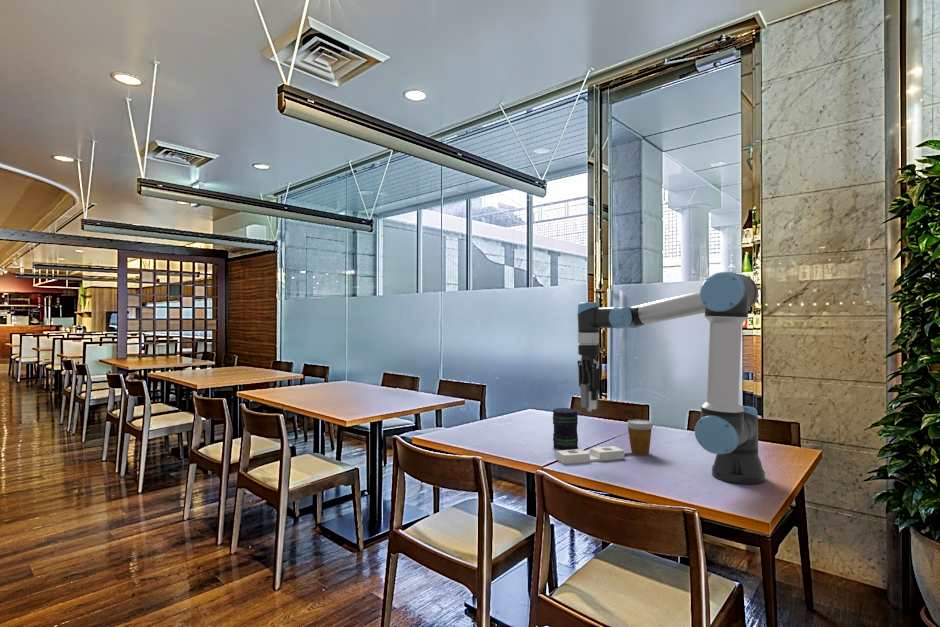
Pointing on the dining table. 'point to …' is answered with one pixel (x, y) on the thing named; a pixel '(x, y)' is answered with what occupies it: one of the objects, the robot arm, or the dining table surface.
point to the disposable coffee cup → (639, 436)
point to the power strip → (590, 455)
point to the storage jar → (565, 429)
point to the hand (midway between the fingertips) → (589, 407)
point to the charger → (586, 396)
